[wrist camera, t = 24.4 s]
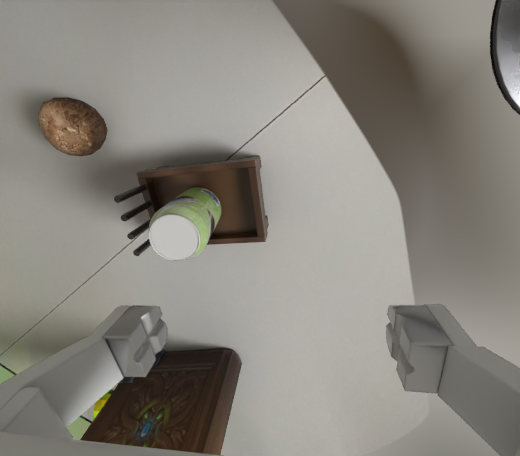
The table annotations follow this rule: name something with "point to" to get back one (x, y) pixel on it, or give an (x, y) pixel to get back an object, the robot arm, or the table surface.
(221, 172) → the tray
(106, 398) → the apple
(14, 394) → the robot arm
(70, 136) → the mushroom
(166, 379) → the decorative book
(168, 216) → the beverage can
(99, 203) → the table surface
